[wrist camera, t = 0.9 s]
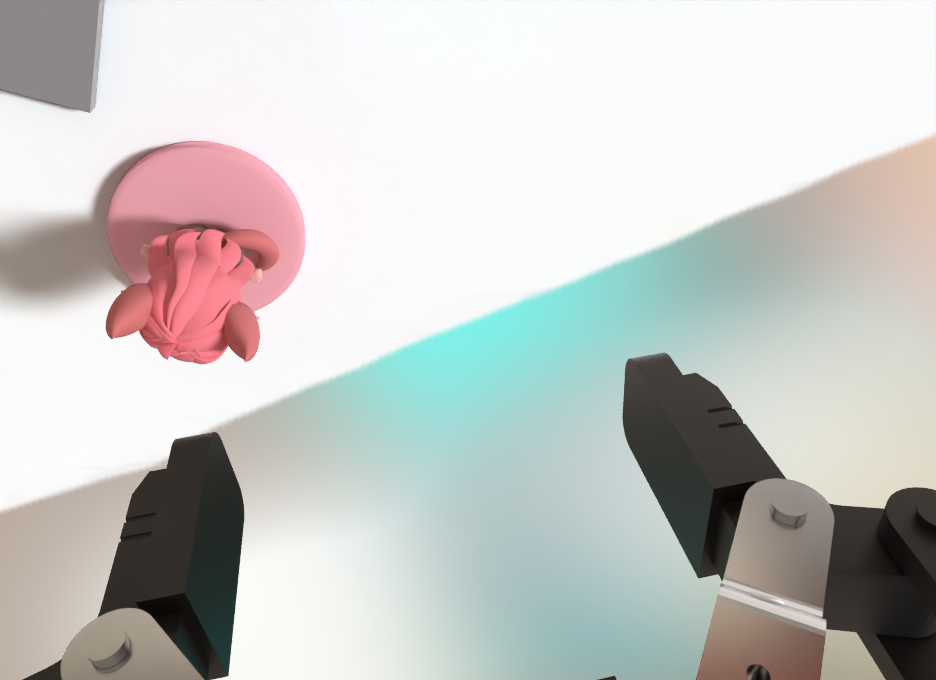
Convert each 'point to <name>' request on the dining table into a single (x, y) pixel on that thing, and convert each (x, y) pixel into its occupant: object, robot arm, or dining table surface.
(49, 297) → the dining table surface
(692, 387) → the robot arm
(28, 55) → the cable board
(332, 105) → the dining table surface
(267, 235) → the toy figure
